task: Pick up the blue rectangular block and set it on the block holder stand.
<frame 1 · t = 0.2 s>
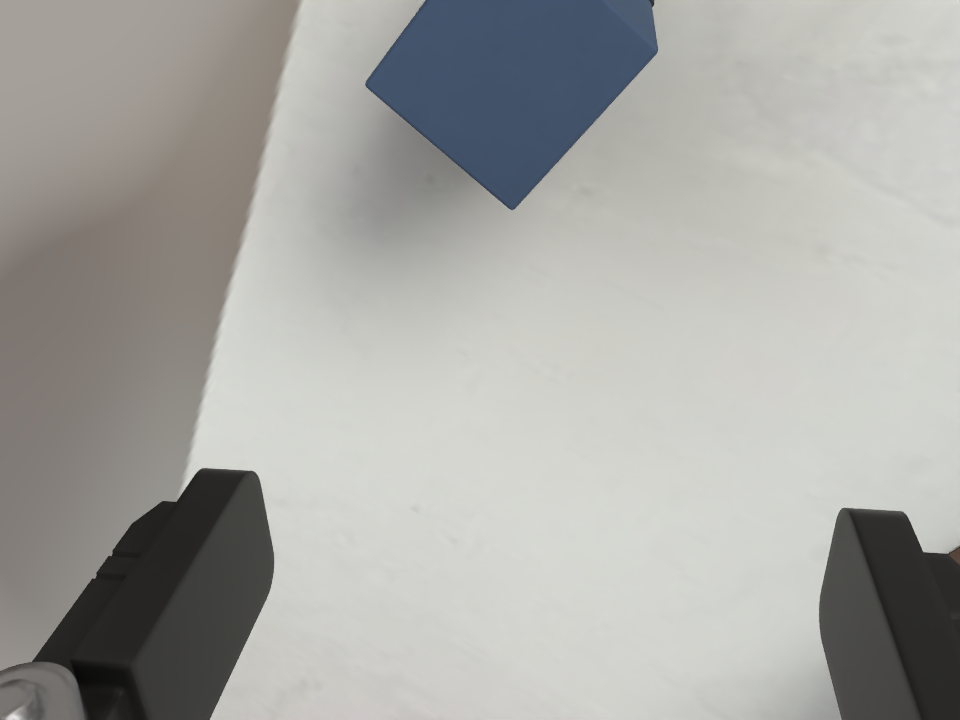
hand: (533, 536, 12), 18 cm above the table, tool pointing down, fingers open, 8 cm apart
blue rectangular block: (539, 13, 26), on the table
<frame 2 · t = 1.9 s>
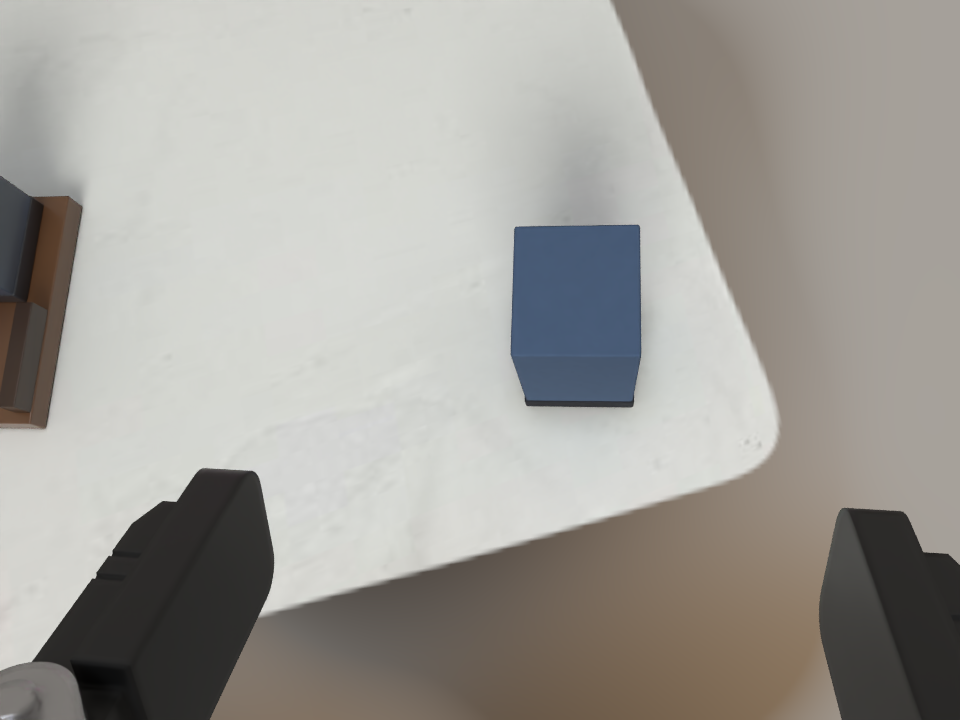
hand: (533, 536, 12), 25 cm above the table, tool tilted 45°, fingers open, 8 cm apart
blue rectangular block: (579, 351, 38), on the table
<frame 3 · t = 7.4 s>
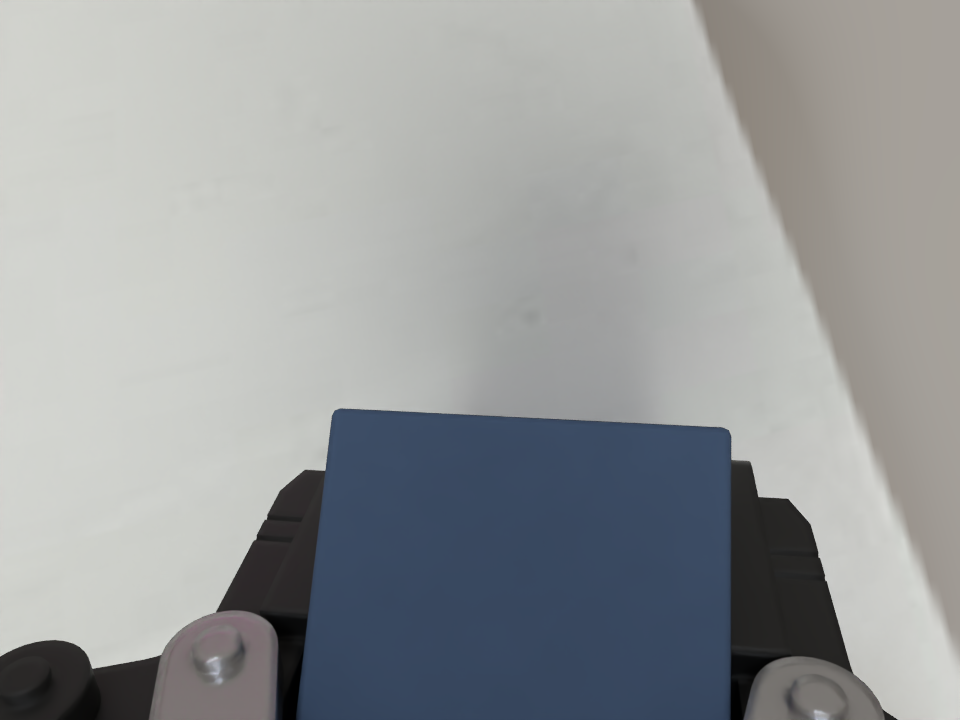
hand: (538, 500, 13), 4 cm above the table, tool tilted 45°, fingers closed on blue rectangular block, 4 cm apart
blue rectangular block: (546, 628, 17), on the table, touching gripper
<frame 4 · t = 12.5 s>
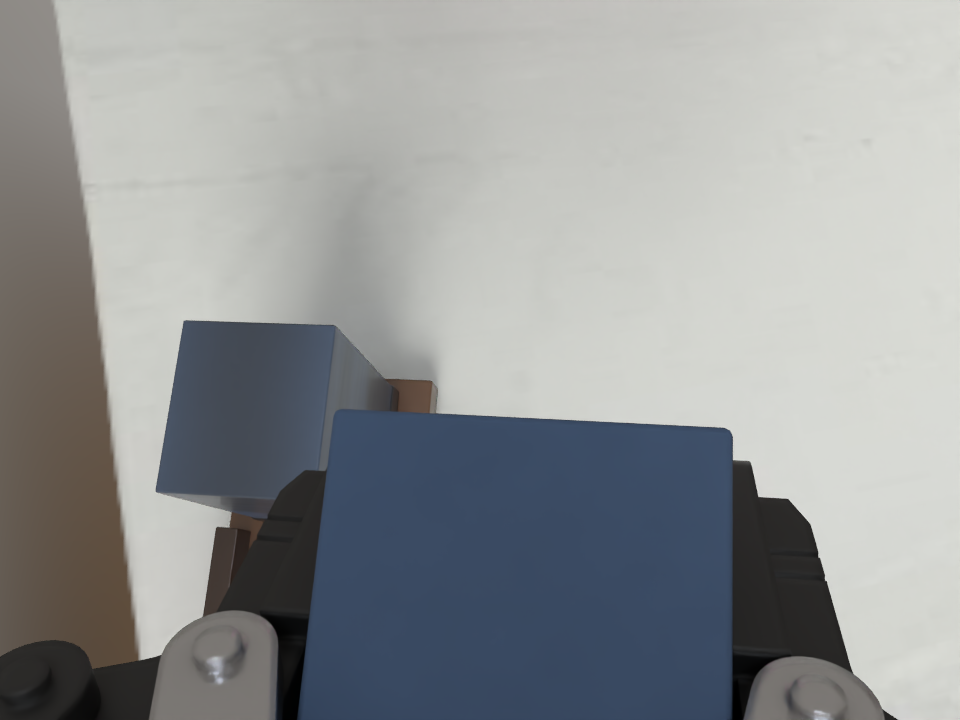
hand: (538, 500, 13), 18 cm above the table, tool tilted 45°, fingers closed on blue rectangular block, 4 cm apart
blue rectangular block: (547, 628, 17), point 14 cm above the table, touching gripper
block holder stand: (332, 532, 32), on the table
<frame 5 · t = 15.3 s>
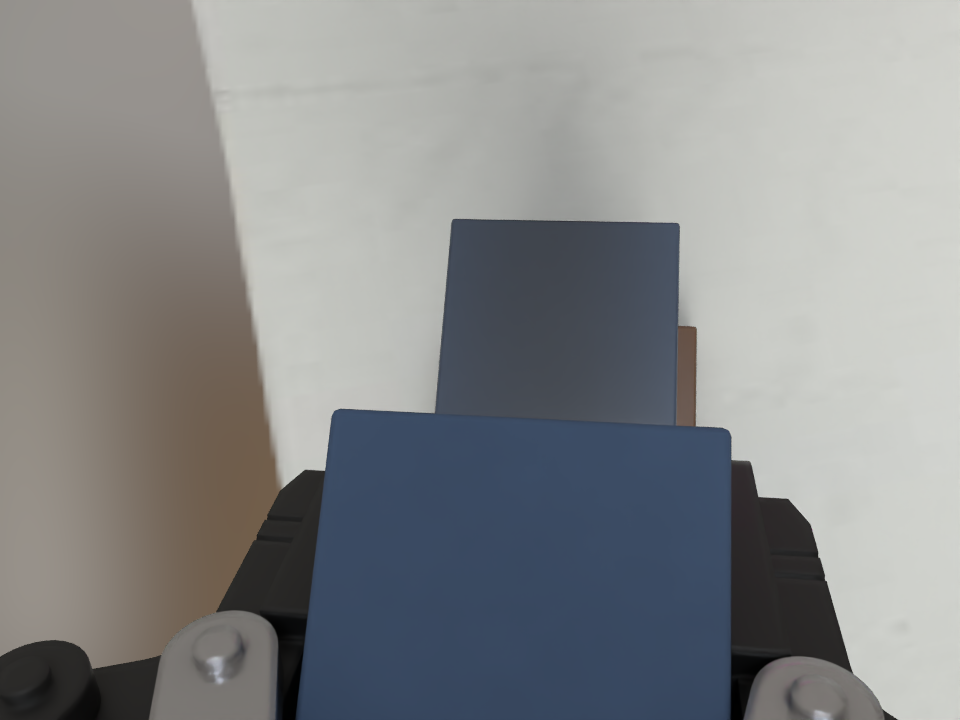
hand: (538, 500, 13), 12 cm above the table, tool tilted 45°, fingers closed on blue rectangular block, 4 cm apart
blue rectangular block: (546, 628, 17), point 8 cm above the table, touching gripper
block holder stand: (564, 523, 25), on the table
when the fingers open (5 cm above the table, at t = 17.5 s): blue rectangular block stays where it is, resting on block holder stand.
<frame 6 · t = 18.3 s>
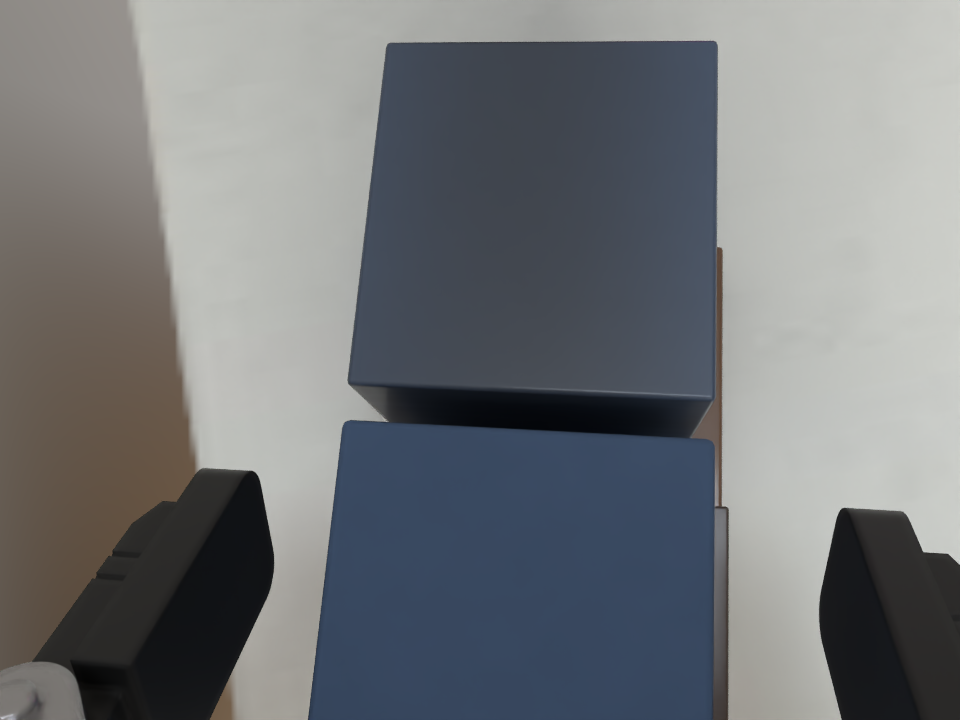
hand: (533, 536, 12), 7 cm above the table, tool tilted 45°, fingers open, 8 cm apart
blue rectangular block: (543, 626, 17), point 1 cm above the table, touching block holder stand
block holder stand: (553, 499, 19), on the table
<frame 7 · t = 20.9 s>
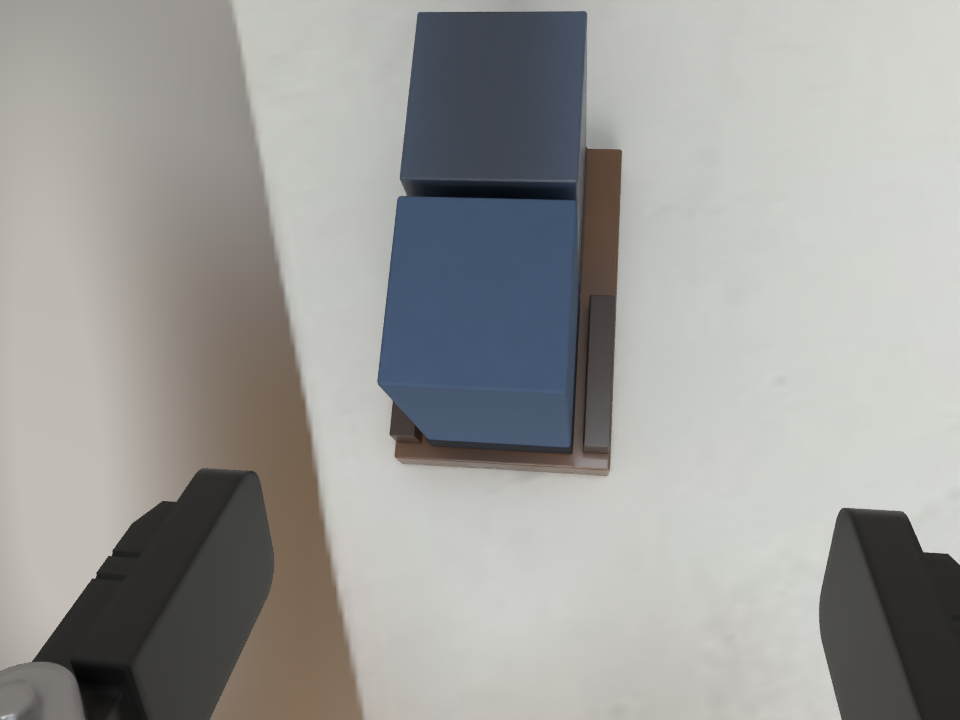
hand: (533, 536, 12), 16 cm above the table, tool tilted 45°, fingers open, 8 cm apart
blue rectangular block: (506, 375, 29), point 1 cm above the table, touching block holder stand
block holder stand: (514, 309, 30), on the table
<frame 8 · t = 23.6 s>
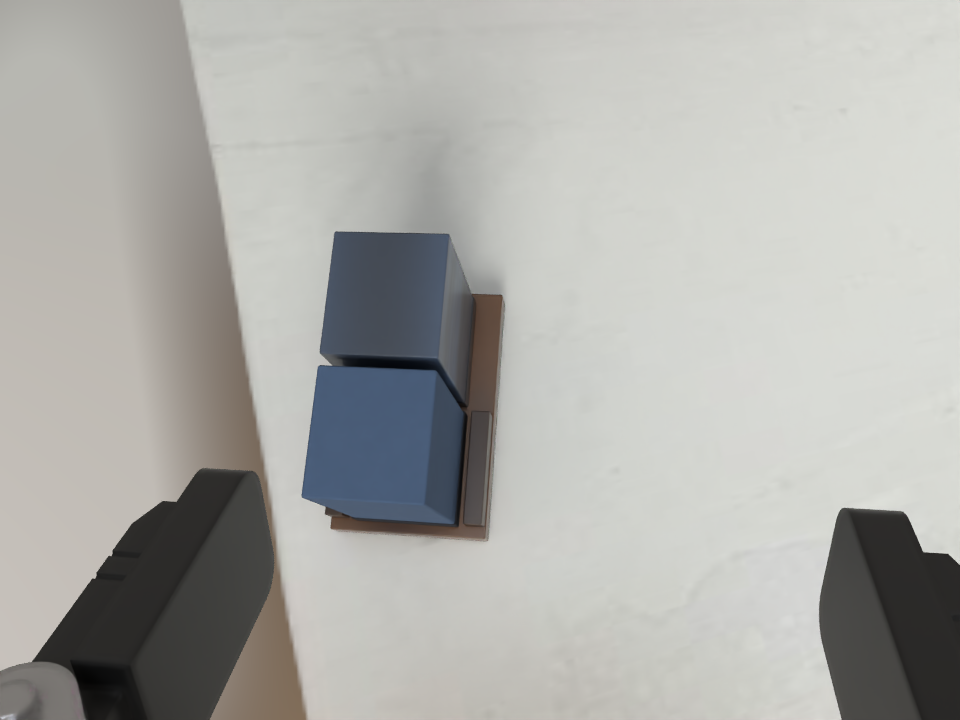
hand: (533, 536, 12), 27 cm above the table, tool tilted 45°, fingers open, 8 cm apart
blue rectangular block: (412, 467, 39), point 1 cm above the table, touching block holder stand
block holder stand: (423, 414, 41), on the table
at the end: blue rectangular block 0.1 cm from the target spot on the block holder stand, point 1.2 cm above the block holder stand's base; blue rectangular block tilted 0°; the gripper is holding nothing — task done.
